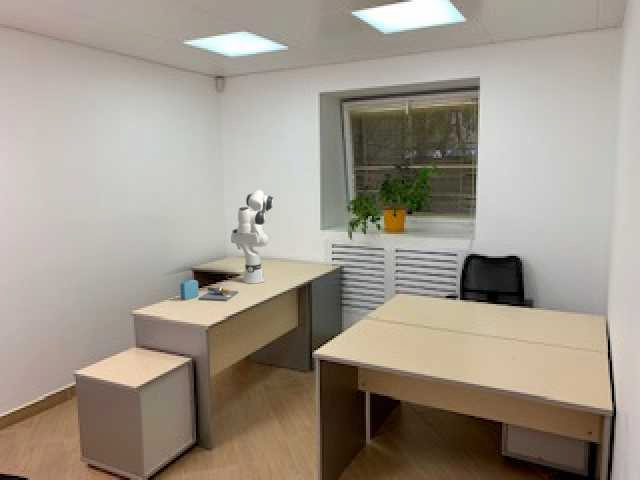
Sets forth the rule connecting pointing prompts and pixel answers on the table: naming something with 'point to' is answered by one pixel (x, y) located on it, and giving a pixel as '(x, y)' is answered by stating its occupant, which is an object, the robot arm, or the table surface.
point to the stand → (218, 296)
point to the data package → (189, 289)
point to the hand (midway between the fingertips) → (245, 249)
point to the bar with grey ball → (218, 290)
